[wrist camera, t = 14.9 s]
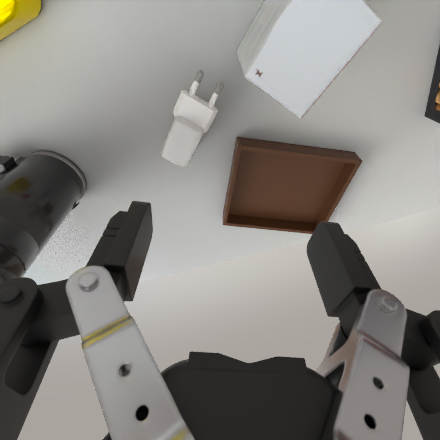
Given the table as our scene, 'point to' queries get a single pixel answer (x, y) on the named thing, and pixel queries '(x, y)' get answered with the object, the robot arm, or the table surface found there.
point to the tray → (285, 185)
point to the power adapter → (189, 123)
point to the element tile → (16, 14)
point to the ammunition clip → (434, 94)
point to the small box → (303, 47)
